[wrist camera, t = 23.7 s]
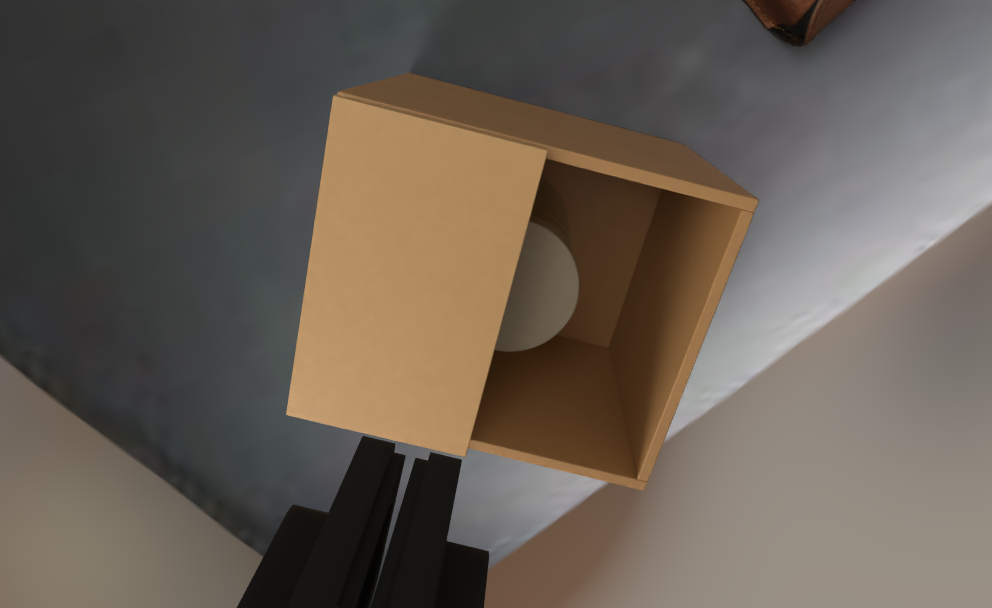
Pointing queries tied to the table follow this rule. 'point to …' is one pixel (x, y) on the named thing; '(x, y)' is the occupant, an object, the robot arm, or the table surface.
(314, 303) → the flap
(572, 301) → the tea tin
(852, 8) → the table surface
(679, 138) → the table surface
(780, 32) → the sunglasses case
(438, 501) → the robot arm
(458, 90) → the carton
